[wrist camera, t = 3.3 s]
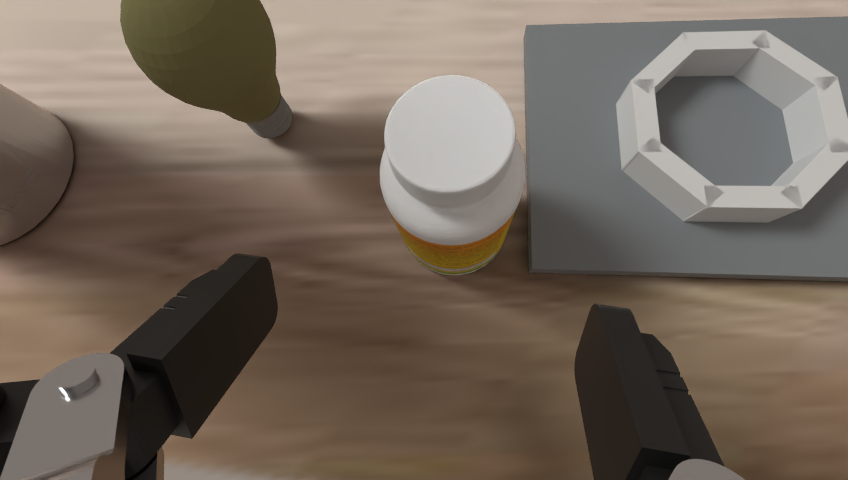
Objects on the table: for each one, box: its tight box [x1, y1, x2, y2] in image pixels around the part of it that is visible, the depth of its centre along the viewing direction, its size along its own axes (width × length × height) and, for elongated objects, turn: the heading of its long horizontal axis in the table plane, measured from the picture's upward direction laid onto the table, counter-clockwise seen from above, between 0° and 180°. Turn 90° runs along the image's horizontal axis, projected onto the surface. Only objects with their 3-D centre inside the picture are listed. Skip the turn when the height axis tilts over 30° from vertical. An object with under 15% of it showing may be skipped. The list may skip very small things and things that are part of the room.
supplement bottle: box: [380, 75, 526, 275], centre depth 17 cm, size 5×5×10 cm
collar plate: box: [524, 17, 848, 282], centre depth 20 cm, size 18×14×3 cm
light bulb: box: [120, 0, 293, 138], centre depth 19 cm, size 6×6×10 cm
